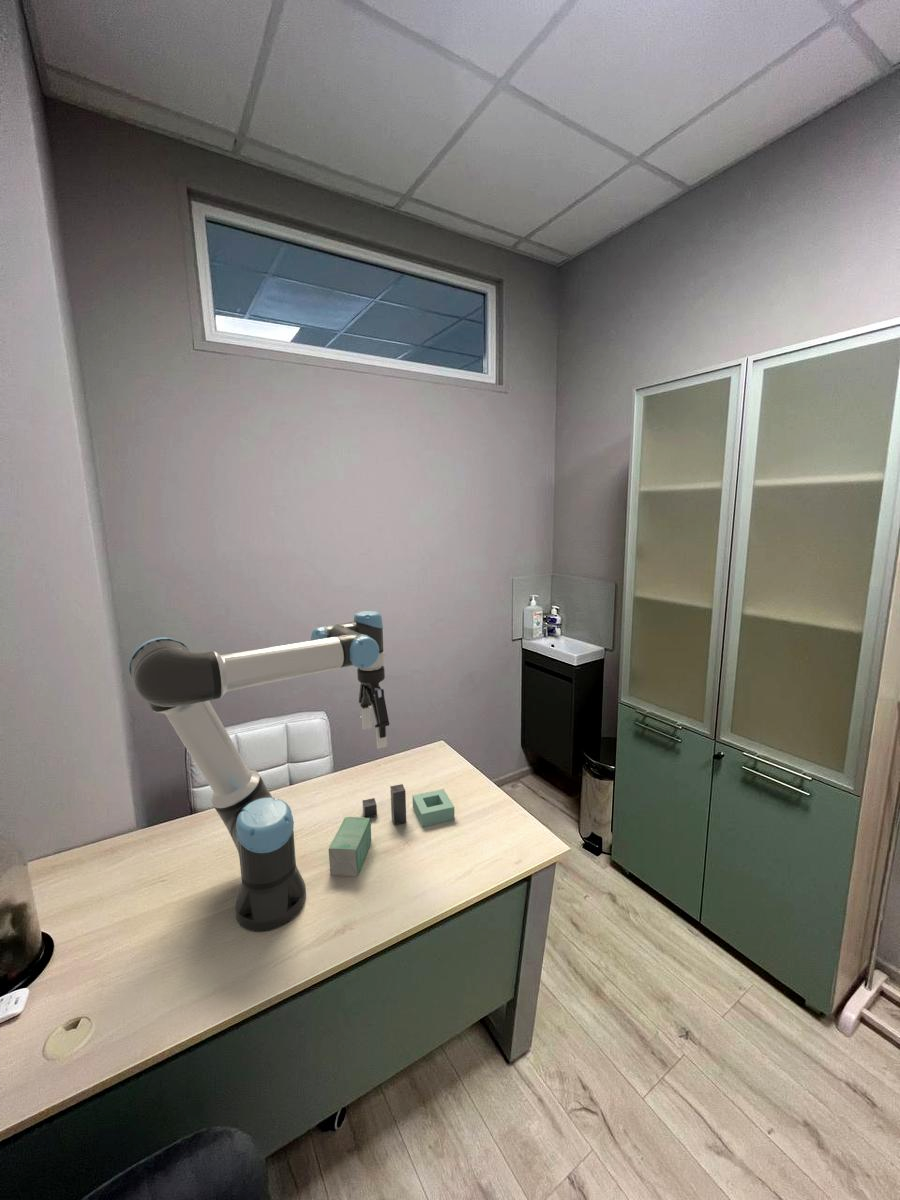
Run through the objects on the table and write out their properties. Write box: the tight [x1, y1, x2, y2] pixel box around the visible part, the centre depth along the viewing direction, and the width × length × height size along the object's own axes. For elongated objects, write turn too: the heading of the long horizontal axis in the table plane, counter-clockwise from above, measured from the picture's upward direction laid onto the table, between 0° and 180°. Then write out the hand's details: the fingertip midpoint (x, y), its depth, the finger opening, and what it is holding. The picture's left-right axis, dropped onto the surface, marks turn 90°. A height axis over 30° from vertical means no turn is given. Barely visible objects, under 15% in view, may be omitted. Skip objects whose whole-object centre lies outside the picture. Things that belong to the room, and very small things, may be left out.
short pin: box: [361, 797, 378, 818], centre depth 142 cm, size 4×4×4 cm
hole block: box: [412, 788, 456, 827], centre depth 142 cm, size 10×10×4 cm
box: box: [328, 816, 372, 877], centre depth 124 cm, size 7×14×8 cm, turn 174°
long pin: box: [390, 783, 407, 826], centre depth 138 cm, size 4×4×10 cm
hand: (374, 737), depth 136 cm, fingers open, 13 cm apart
